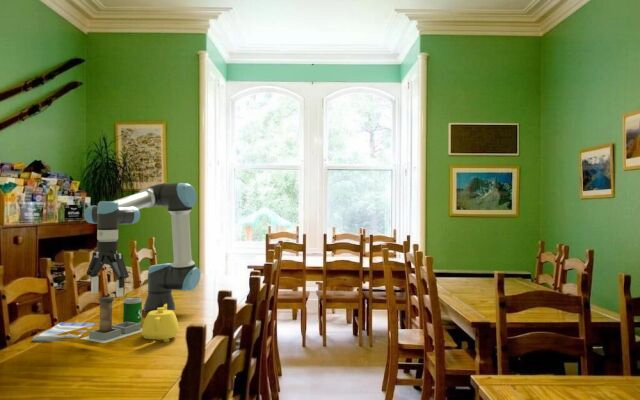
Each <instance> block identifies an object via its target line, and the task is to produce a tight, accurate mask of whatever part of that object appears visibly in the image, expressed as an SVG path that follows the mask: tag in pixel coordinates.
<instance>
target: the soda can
mask: <svg viewBox="0 0 640 400" xmlns="http://www.w3.org/2000/svg"><path fill="white" fill-rule="evenodd" d="M122 305H123V306H122V307H123V309H122V323H123V322H126V321H127V322H133V323H140V324H142V323H143V322H142V321H143V320H142V318H143V317H142V316H143V315H142V314H143V313H142V312H143V299H142V298H141V297H139V296H128V297H126V298H125V299H124V300H123V303H122Z"/></svg>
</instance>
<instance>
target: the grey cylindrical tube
mask: <svg viewBox="0 0 640 400" xmlns="http://www.w3.org/2000/svg"><path fill="white" fill-rule="evenodd" d="M113 301H115V298H114V297H112V296H103V297H100V298H99V299H98V302H99V322H98V323H99V324H98V325H99V327H98V329H99V332H101V333H107V332H110V331H112V325H113Z"/></svg>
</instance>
